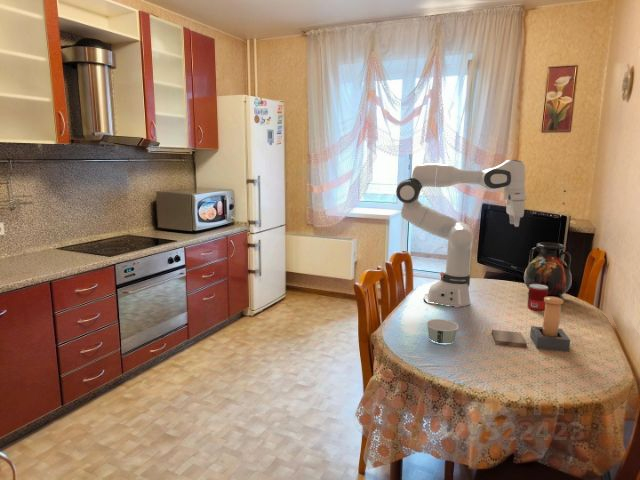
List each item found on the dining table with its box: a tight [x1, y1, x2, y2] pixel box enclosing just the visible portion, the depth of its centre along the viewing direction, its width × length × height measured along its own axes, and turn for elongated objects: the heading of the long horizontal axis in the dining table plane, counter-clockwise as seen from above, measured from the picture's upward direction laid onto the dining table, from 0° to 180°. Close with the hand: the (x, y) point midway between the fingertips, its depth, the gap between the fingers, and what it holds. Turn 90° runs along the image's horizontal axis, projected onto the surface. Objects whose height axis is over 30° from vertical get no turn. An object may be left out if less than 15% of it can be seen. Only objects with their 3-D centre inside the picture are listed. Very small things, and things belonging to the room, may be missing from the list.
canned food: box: [527, 284, 548, 312], centre depth 206 cm, size 8×8×11 cm
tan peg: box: [542, 297, 564, 337], centre depth 165 cm, size 6×6×18 cm
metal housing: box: [529, 326, 571, 352], centre depth 166 cm, size 11×11×4 cm
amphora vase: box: [523, 242, 573, 300], centre depth 219 cm, size 22×22×28 cm
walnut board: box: [491, 329, 528, 348], centre depth 170 cm, size 11×11×2 cm
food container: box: [426, 318, 459, 343], centre depth 169 cm, size 12×12×6 cm
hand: (514, 225), depth 202 cm, fingers open, 8 cm apart
